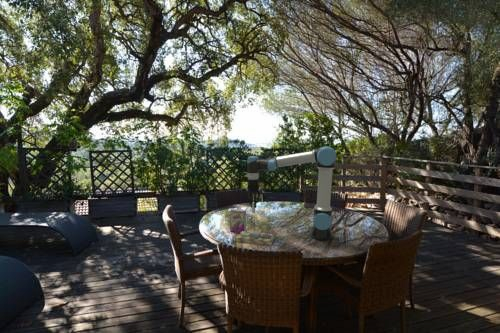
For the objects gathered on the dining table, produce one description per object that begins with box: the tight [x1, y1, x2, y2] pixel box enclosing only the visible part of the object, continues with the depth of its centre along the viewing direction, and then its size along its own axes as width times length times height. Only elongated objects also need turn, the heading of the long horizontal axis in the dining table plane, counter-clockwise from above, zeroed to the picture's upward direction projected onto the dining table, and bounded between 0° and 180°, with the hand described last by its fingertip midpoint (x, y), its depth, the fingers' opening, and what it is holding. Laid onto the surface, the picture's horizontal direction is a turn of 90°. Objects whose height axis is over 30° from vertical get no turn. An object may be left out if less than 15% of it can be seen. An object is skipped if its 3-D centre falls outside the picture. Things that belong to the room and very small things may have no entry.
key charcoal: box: [261, 235, 271, 239], centre depth 211 cm, size 5×5×3 cm
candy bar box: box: [229, 208, 247, 234], centre depth 231 cm, size 11×5×16 cm, turn 70°
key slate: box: [251, 230, 262, 238], centre depth 213 cm, size 5×5×3 cm
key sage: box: [241, 233, 251, 237], centre depth 215 cm, size 5×5×3 cm
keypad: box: [235, 231, 276, 246], centre depth 213 cm, size 24×14×3 cm, turn 75°
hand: (253, 212), depth 217 cm, fingers closed
